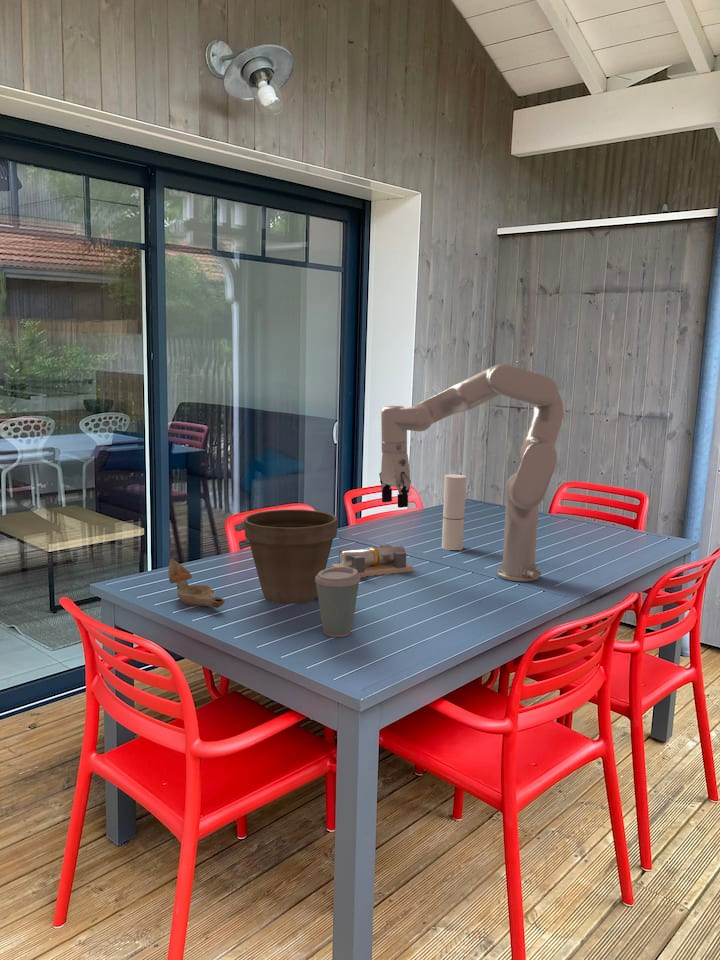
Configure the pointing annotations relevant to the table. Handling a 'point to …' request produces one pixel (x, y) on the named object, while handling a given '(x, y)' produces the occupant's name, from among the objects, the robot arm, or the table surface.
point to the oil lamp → (192, 588)
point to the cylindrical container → (453, 512)
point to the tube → (371, 555)
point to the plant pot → (290, 551)
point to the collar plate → (363, 571)
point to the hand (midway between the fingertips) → (394, 504)
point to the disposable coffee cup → (337, 599)
